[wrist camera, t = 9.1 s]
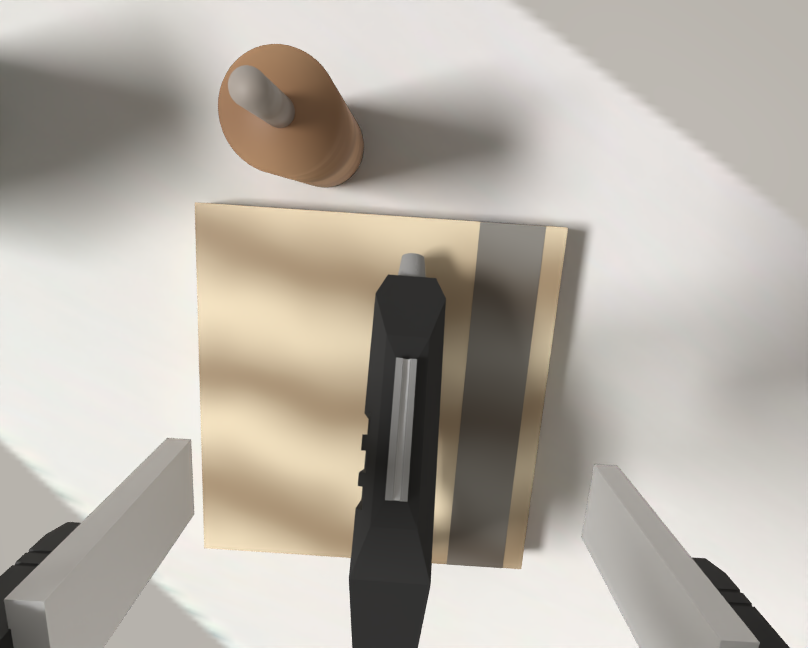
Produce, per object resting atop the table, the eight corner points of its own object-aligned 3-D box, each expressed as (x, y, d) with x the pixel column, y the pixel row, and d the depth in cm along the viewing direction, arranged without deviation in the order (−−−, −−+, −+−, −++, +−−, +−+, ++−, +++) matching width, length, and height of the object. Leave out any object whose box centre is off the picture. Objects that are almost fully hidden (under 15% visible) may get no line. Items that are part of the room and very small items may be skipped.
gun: (431, 308, 29) (452, 235, 19) (413, 614, 25) (426, 720, 15) (383, 304, 29) (379, 229, 19) (356, 610, 25) (334, 713, 15)
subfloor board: (208, 203, 24) (194, 202, 22) (558, 226, 24) (568, 227, 22) (215, 530, 28) (204, 548, 26) (515, 550, 28) (521, 569, 26)
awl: (283, 99, 23) (169, -4, 12) (365, 105, 23) (325, 8, 12) (282, 184, 24) (175, 160, 13) (361, 190, 24) (320, 170, 13)
